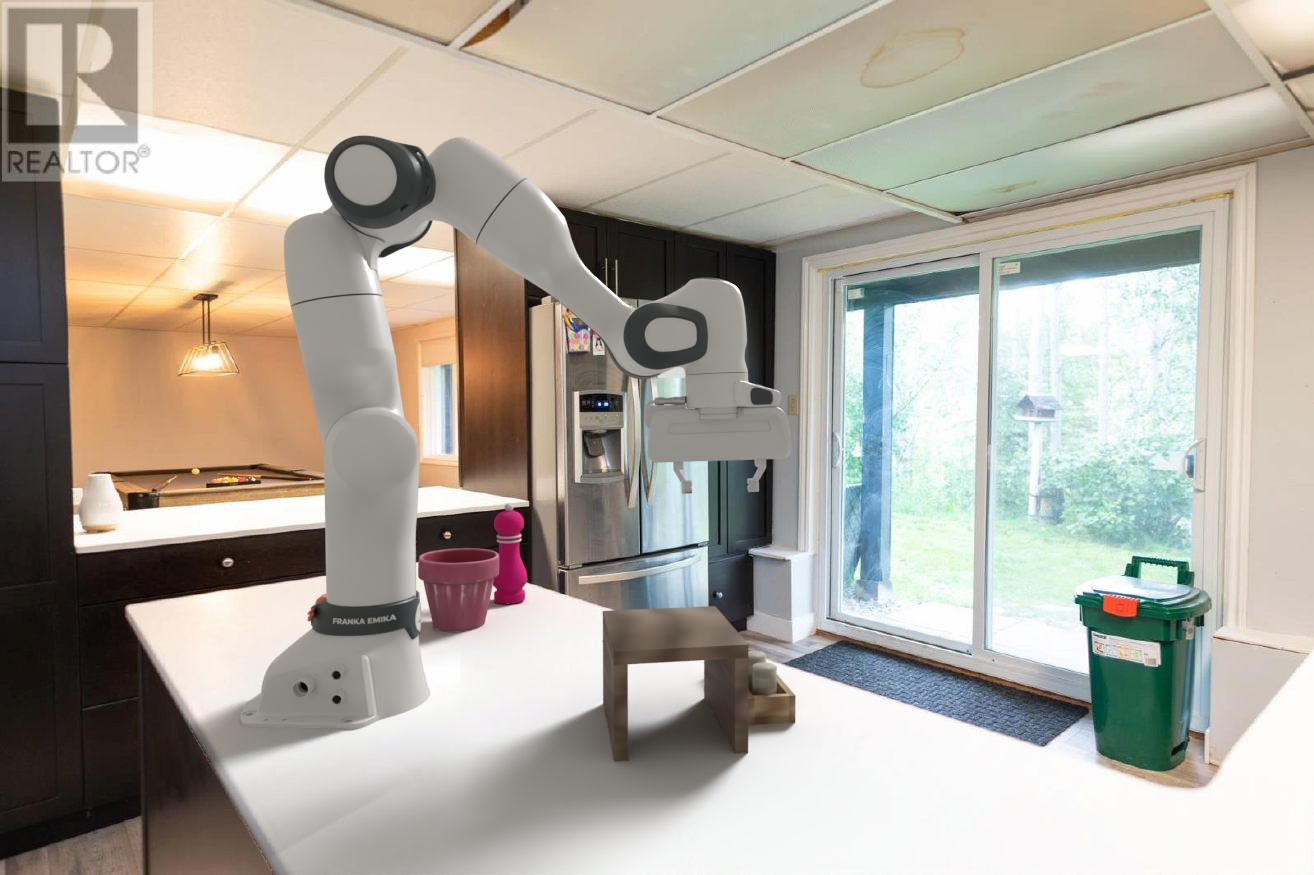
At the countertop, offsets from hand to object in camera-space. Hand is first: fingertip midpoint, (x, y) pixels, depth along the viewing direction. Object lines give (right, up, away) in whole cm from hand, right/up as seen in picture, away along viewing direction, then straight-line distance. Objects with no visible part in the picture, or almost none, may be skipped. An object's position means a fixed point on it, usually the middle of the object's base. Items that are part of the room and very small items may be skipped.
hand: (720, 492), depth 101 cm
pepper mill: (-39, -26, +45) cm, 65 cm away
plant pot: (-45, -26, +28) cm, 59 cm away
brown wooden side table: (-7, -28, -15) cm, 32 cm away
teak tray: (+4, -27, -5) cm, 28 cm away
